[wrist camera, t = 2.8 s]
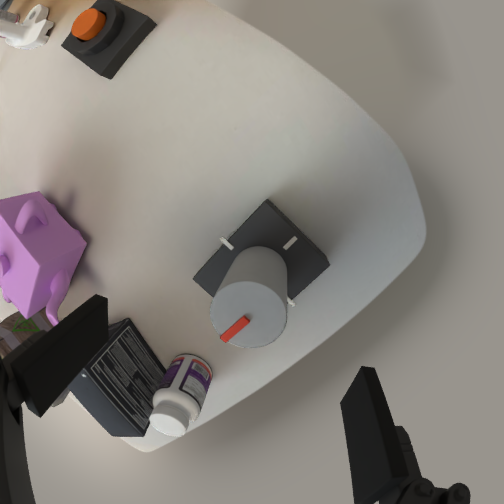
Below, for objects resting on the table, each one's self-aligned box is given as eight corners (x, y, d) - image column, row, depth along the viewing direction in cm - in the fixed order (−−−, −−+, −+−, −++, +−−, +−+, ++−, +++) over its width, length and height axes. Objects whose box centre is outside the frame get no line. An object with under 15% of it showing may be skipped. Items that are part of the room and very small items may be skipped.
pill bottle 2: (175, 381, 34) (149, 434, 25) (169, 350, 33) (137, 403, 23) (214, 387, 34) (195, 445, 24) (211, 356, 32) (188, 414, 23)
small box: (98, 329, 33) (53, 373, 23) (129, 316, 32) (82, 365, 22) (141, 387, 36) (110, 438, 26) (175, 380, 34) (146, 438, 24)
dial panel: (262, 193, 26) (259, 196, 24) (330, 260, 27) (335, 270, 25) (195, 266, 29) (186, 275, 26) (260, 323, 30) (258, 337, 27)
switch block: (157, 24, 22) (141, 10, 18) (110, 79, 24) (90, 71, 20) (110, 1, 21) (94, -11, 17) (71, 49, 23) (51, 42, 19)
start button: (111, 18, 19) (103, 12, 17) (90, 44, 20) (80, 40, 18) (95, 10, 18) (87, 5, 17) (75, 35, 19) (66, 31, 18)
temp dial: (257, 234, 25) (244, 266, 17) (298, 273, 25) (303, 319, 17) (220, 272, 26) (193, 317, 18) (260, 308, 27) (249, 362, 19)
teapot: (93, 181, 28) (21, 194, 17) (108, 292, 31) (53, 337, 21) (20, 195, 29) (-38, 210, 19) (35, 283, 33) (-15, 314, 23)
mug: (27, 335, 37) (-14, 369, 26) (25, 288, 34) (-27, 320, 22) (92, 384, 37) (55, 431, 26) (96, 341, 34) (48, 392, 23)
